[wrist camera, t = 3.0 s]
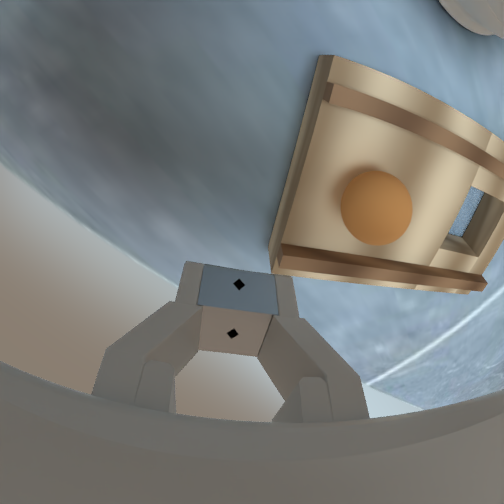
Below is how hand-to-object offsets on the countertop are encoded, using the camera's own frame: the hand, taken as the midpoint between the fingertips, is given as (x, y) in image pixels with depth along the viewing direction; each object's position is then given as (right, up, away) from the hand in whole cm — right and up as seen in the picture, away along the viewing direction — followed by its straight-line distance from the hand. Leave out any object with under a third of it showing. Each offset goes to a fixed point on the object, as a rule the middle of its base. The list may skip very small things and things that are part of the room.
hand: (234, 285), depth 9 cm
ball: (+7, +3, +6) cm, 10 cm away
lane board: (+13, +5, +11) cm, 18 cm away
